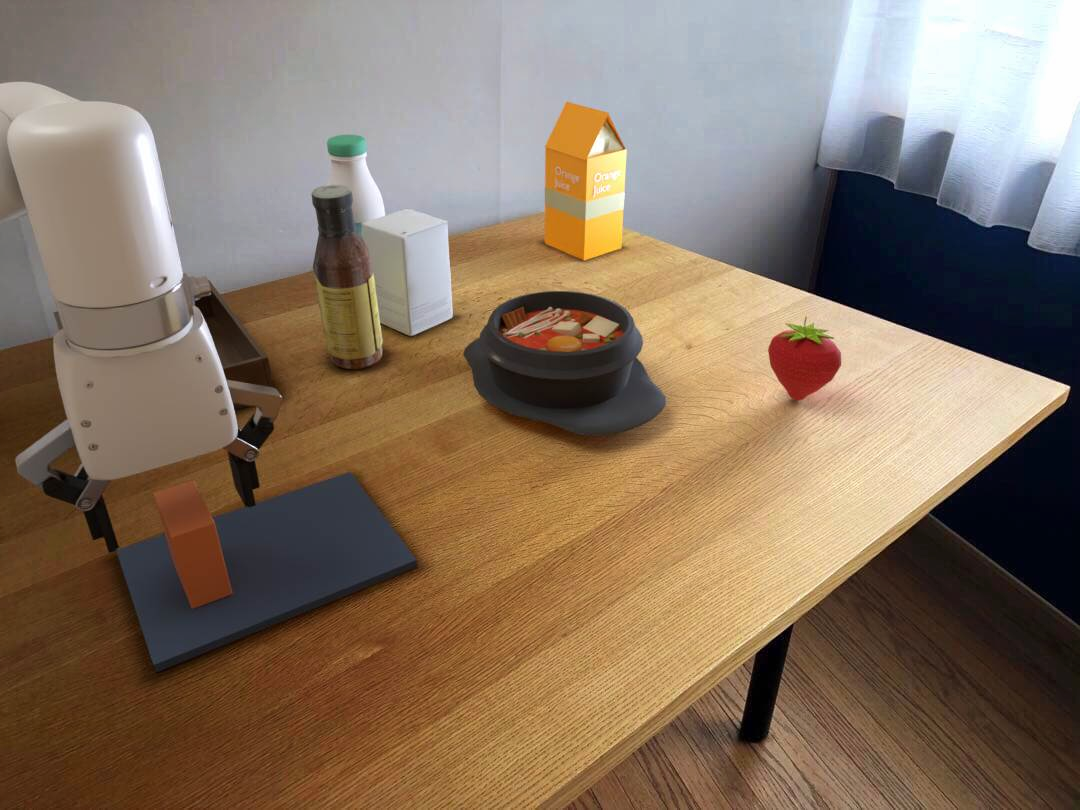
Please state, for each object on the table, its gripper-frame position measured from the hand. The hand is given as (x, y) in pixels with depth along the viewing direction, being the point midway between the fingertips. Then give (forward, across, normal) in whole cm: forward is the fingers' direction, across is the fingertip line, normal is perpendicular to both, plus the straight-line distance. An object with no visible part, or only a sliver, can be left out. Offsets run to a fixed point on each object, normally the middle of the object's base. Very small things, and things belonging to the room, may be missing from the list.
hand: (180, 518), depth 64 cm
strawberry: (+6, -60, +6) cm, 61 cm away
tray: (+7, -5, -36) cm, 37 cm away
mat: (+6, -5, 0) cm, 8 cm away
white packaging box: (+7, -34, -34) cm, 49 cm away
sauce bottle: (+7, -24, -28) cm, 37 cm away
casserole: (+6, -40, -10) cm, 42 cm away
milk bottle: (+7, -32, -44) cm, 56 cm away
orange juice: (+7, -66, -42) cm, 79 cm away
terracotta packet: (+6, 0, +1) cm, 6 cm away
